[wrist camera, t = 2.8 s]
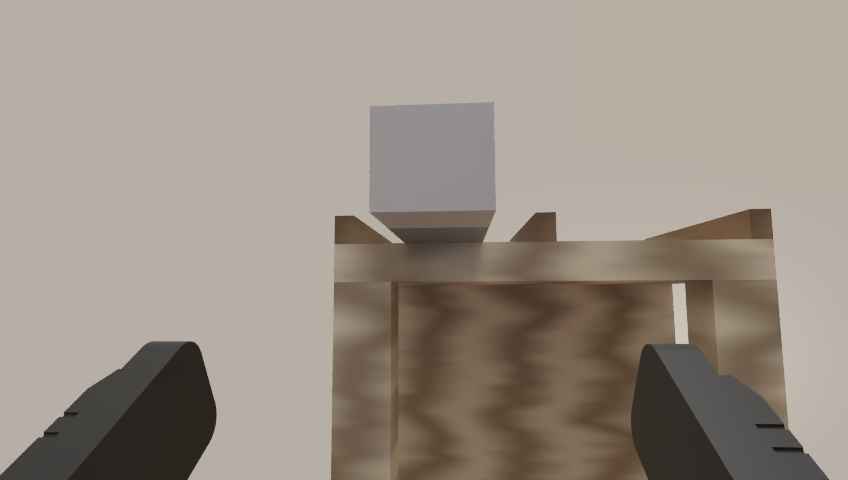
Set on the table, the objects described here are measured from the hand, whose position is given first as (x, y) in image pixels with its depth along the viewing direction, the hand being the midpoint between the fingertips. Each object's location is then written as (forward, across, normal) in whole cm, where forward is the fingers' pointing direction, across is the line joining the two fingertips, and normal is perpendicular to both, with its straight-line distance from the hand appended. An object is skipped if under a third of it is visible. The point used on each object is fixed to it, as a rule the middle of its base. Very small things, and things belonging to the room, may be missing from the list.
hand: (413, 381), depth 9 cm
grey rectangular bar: (+18, 0, +6) cm, 19 cm away
